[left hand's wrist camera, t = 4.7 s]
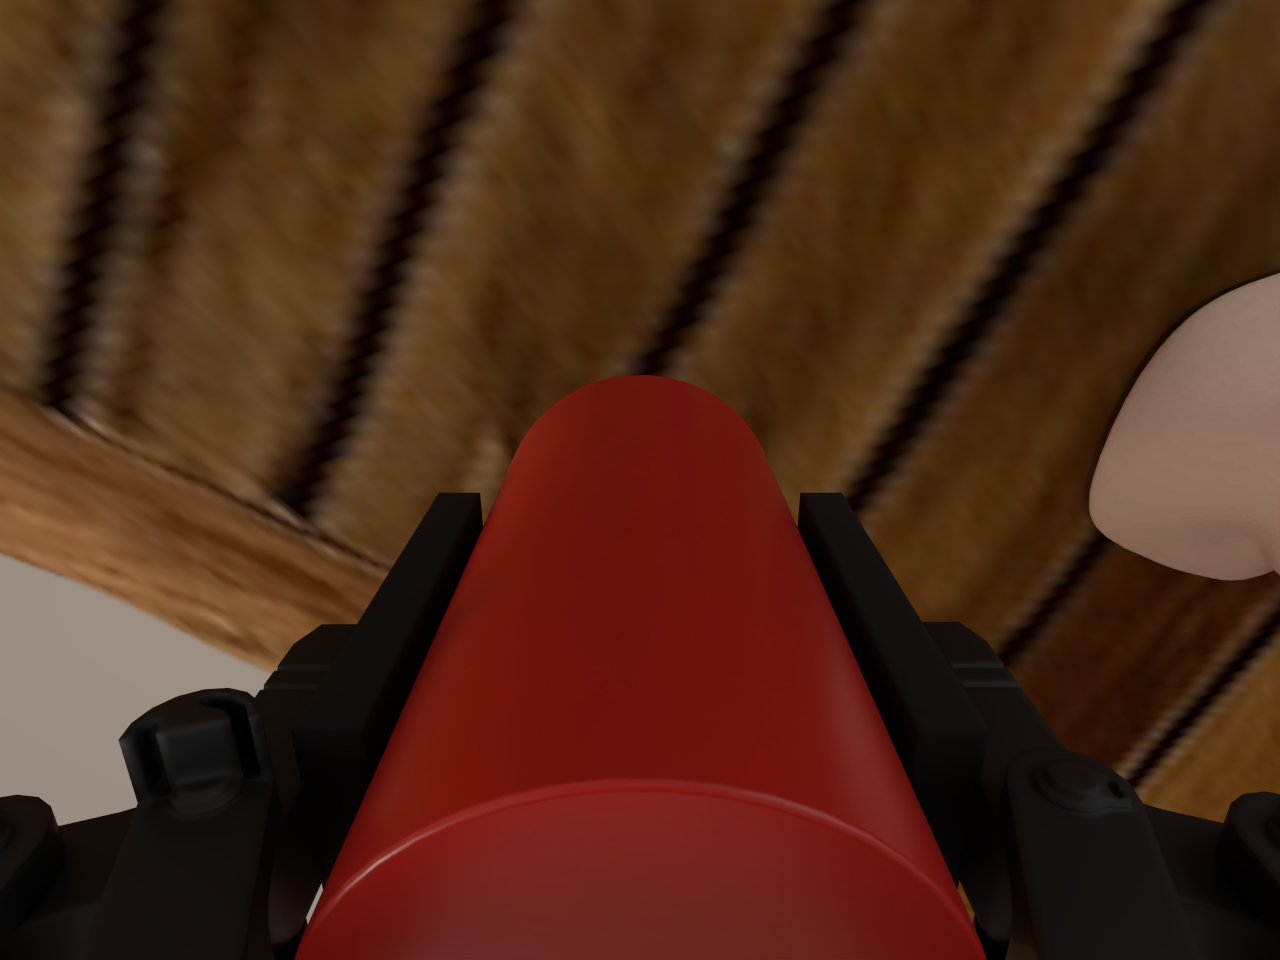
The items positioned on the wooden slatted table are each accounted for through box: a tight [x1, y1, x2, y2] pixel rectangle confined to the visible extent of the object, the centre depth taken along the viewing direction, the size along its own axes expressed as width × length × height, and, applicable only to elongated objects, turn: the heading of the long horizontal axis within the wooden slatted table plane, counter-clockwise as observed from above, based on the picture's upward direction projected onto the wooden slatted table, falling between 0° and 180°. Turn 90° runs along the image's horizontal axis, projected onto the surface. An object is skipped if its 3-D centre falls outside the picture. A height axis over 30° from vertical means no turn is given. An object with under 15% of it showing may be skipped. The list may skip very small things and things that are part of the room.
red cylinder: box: [294, 375, 987, 960], centre depth 12 cm, size 6×6×12 cm
